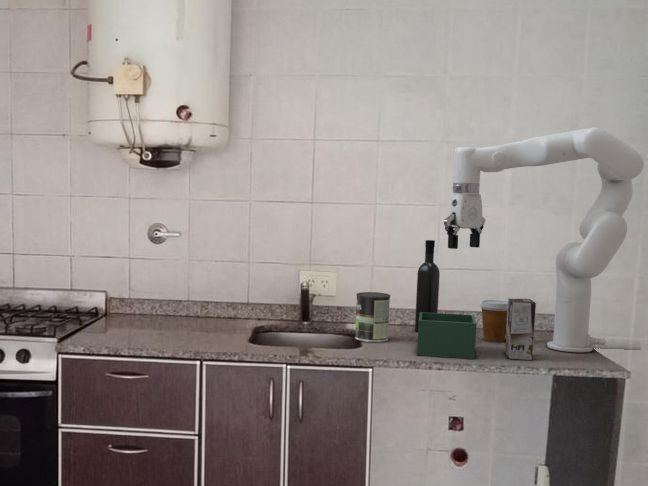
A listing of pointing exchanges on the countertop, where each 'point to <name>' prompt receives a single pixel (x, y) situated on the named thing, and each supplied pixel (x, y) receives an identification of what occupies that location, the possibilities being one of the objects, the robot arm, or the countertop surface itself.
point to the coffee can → (372, 316)
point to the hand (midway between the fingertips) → (463, 247)
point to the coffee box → (520, 328)
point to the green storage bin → (446, 335)
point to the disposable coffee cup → (494, 320)
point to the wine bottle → (427, 284)
